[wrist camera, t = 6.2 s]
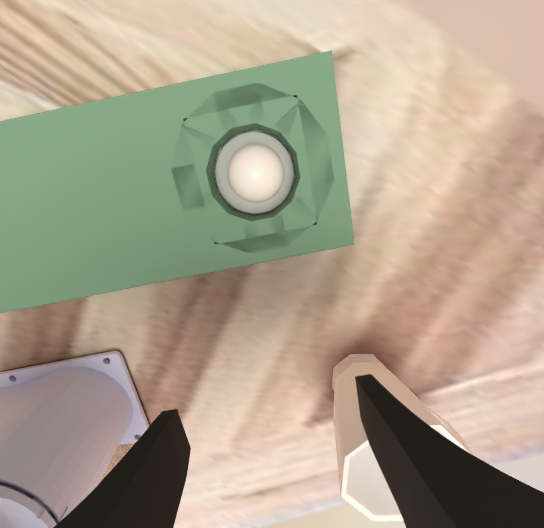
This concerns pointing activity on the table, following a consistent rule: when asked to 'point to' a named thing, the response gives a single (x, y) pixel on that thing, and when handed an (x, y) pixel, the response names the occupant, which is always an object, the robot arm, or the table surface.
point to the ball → (255, 173)
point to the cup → (354, 444)
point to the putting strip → (168, 183)
